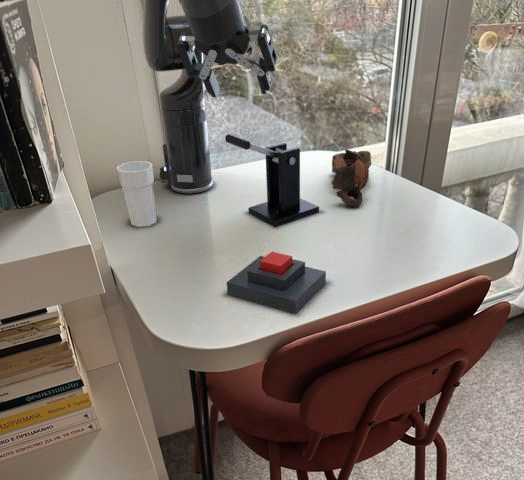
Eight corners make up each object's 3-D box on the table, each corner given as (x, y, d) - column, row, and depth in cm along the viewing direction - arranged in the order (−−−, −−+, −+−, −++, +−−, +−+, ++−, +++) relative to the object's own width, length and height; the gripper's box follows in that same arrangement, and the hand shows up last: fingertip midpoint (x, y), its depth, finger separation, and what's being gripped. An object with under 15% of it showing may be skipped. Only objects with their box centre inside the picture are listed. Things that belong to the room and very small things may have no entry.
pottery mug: (330, 143, 106) (366, 139, 109) (309, 164, 115) (342, 161, 118) (346, 202, 106) (381, 197, 109) (324, 219, 115) (357, 214, 118)
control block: (227, 294, 86) (225, 271, 83) (260, 267, 92) (259, 245, 90) (295, 313, 80) (295, 290, 78) (325, 283, 87) (326, 260, 85)
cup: (154, 212, 113) (145, 158, 107) (165, 223, 109) (156, 167, 102) (123, 219, 111) (112, 164, 105) (133, 231, 106) (122, 174, 100)
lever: (241, 151, 95) (246, 137, 94) (223, 144, 99) (227, 130, 98) (295, 169, 103) (300, 156, 103) (276, 161, 107) (280, 149, 107)
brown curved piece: (332, 166, 114) (373, 164, 113) (332, 150, 114) (374, 148, 113) (330, 174, 129) (367, 173, 128) (331, 160, 128) (367, 158, 128)
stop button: (260, 271, 84) (259, 260, 83) (272, 261, 86) (271, 251, 85) (280, 276, 82) (280, 265, 81) (292, 266, 85) (292, 255, 84)
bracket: (275, 227, 105) (273, 159, 98) (248, 213, 111) (244, 148, 104) (319, 212, 110) (320, 146, 103) (291, 199, 116) (290, 137, 109)
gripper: (263, -30, 73) (287, 71, 88) (166, -18, 77) (205, 77, 92) (252, 10, 71) (279, 107, 85) (153, 20, 75) (194, 111, 89)
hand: (240, 92), depth 89 cm, fingers open, 8 cm apart
